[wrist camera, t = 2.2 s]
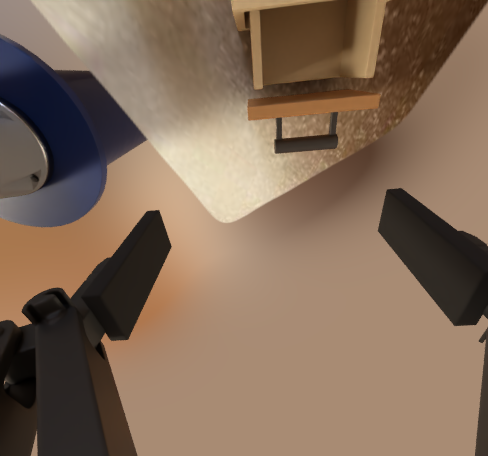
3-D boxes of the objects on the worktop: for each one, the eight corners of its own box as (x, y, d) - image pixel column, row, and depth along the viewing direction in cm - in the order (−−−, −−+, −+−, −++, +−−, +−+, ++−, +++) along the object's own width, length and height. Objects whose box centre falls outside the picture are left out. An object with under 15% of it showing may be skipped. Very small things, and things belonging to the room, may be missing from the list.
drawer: (342, 134, 33) (369, 152, 26) (251, 143, 34) (251, 162, 26) (367, -73, 23) (425, -144, 15) (236, -54, 24) (230, -113, 16)
